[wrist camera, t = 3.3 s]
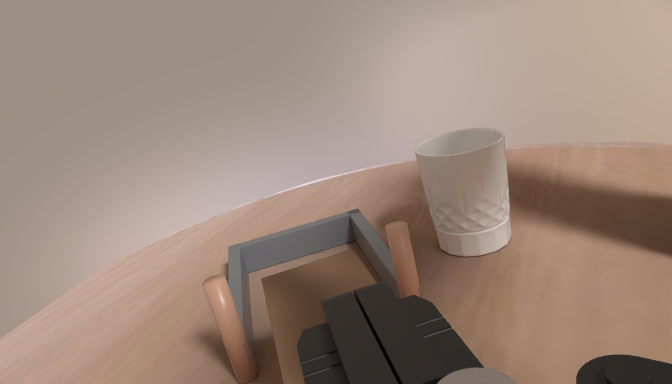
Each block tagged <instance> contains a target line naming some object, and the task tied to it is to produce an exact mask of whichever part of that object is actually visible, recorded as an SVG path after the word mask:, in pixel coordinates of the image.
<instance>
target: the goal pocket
mask: <svg viewBox="0 0 672 384" xmlns="http://www.w3.org/2000/svg"><path fill="white" fill-rule="evenodd" d="M385 230H386V235H387V239H388V244H389V248H390V249H389V248H388V247H387V245H386V244H385V243H384V241H383V240H382V239H381V238H380V236H379V235H378V234H377V233H376V231H375V230H374V229H373V227H372V226H371V225H370V224H369V222H368V221H367V220H366V218H365V217H364V216H363V215H362V213H361V212H360V211H359V209H355V210H351V211H348V212H344V213H341V214H338V215H334V216H331V217H328V218H324V219H321V220H317V221H314V222H311V223H307V224H304V225H301V226H297V227H294V228H290V229H287V230H284V231H280V232H277V233H274V234H270V235H267V236H263V237H260V238H257V239H253V240H250V241H247V242H243V243H240V244H236V245H233V246H230V247H229V253H228V283H227V280H226V277H225V275H215V276H212V277H210V278H208V279H206V280H205V281H204V282H203V284H202V285H203V288H204V291H205V293H206V296H207V299H208V302H209V304H210V307H211V310H212V313H213V316H214V318H215V321H216V324H217V327H218V329H219V332H220V335H221V338H222V341H223V343H224V346H225V349H226V352H227V354H228V357H229V360H230V363H231V365H232V368H233V371H234V374H235V377H236V379H237V381H238V382H239V383H248V382H250V381H252V380H253V379H255V378H256V376H257V375H258V370H257V368H256V365H255V362H254V348H253V334H252V321H251V307H250V293H249V279H248V273H250V272H253V271H256V270H260V269H263V268H266V267H269V266H273V265H276V264H279V263H283V262H286V261H289V260H292V259H296V258H299V257H302V256H306V255H309V254H312V253H316V252H319V251H322V250H325V249H329V248H332V247H335V246H339V245H342V244H345V243H348V242H352V241H355V240H356V241H357V243H358V244H359V246H360V247H361V249H362V251H363V252H364V254H365V255H366V257H367V258H368V260H369V261H370V263H371V265H372V266H373V268H374V269H375V271H376V272H377V274H378V275H379V277H380V279H381V280H382V281H386V283H387V284H388V286H389V287H390V289H391V290H392V291H393V293H394V294H395V296H396V297H397V299H398V300H399V299H402V298H405V297H408V296H411V295H416V296H418V297H421V298H422V293H421V288H420V284H419V279H418V274H417V269H416V264H415V259H414V254H413V250H412V245H411V240H410V235H409V230H408V225H407V222H405V221H394V222H391V223H389V224H387V225H386V226H385Z"/></svg>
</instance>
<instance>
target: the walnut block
mask: <svg viewBox="0 0 672 384" xmlns="http://www.w3.org/2000/svg"><path fill="white" fill-rule="evenodd" d="M375 283H377V282H376V281H375V279H374V278H373V276H372V275H371V274H370V272H369V271H368V269H367V268H366V266H365V265H364V264H363V262H362V261H361V259H360V258H359V257H358V255H357V254H356V252H355V251H354V249H352V250H349V251H346V252H343V253H340V254H336V255H333V256H330V257H327V258H324V259H321V260H318V261H315V262H312V263H309V264H305V265H302V266H299V267H296V268H293V269H290V270H287V271H284V272H281V273H277V274H274V275H271V276H268V277H265V278H262V284H263V289H264V293H265V298H266V303H267V308H268V312H269V317H270V322H271V327H272V331H273V336H274V341H275V346H276V350H277V355H278V360H279V365H280V369H281V374H282V379H283V384H305V382H304V377H303V373H302V369H301V363H300V359H299V355H298V350H297V344H298V341H299V339H300V336H301V334H302V331H303V330H304V329H307V328H310V327H313V326H317V325H320V324H323V323H326V322H325V319H324V315H323V311H322V308H321V303H320V300H323V299H326V298H330V297H333V296H336V295H339V294H343V293H346V292H349V291H352V293H353V290H355V289H358V288H362V287H365V286H368V285H371V284H375ZM353 295H354V293H353Z"/></svg>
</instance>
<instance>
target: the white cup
mask: <svg viewBox="0 0 672 384" xmlns="http://www.w3.org/2000/svg"><path fill="white" fill-rule="evenodd" d="M415 154H416V158H417V163H418V167H419V171H420V175H421V179H422V183H423V188H424V192H425V196H426V198H427V203H428V208H429V211H430V213H431V219H432V221H433V223H434V226H435V228H436V233H437V237H438V241H439V245H440V248H441V249H442V250H444V251H445V252H447V253H449V254H451V255H457V256H463V257H467V256H481V255H485V254H488V253H492V252H495V251H497V250H499V249H501V248H502V247H504V246H505V245H507V244H508V242H509V240H510V238H511V227H510V216H509V209H510V201H509V195H508V194H509V185H508V174H507V162H506V150H505V138H504V133H503V132H501V131H500V130H496V129H490V128H474V129H464V130H457V131H452V132H448V133H444V134H440V135H437V136H434V137H431V138H429V139H427V140H425V141H423V142H421V143H419V144H418V145H417V146H416V147H415Z"/></svg>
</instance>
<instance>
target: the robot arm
mask: <svg viewBox="0 0 672 384" xmlns="http://www.w3.org/2000/svg"><path fill="white" fill-rule="evenodd" d="M353 293H354V295H353ZM353 293H352V291H349V292H346V293H343V294H339V295H336V296H333V297H330V298H326V299H323V300H320V303H321V308H322V311H323V315H324V319H325V322H326V323H323V324H320V325H317V326H313V327H310V328H307V329H304V330H303V331H302V334H301V336H300V339H299V341H298V344H297V350H298V355H299V359H300V363H301V369H302V373H303V377H304V382H305V384H516V383H515V382H514V381H513V380H512V379H511V378H510V377H508V376H507V375H505V374H503V373H501V372H498V371H495V370H492V369H487V368H484V367H483V366H482V364H481V363H480V362H479V361H478V359H477V358H476V357H475V356H474V354H473V353H472V352H471V351H470V349H469V348H468V347H467V346H466V344H465V343H464V342H463V341H462V339H461V338H460V337H459V336H458V334H457V333H456V332H455V331H454V330H453V329H452V328H451V326H450V325H449V323H448V322H447V321H446V320H445V318H443V316H442V315H441V313H440V312H439V311H438V310H437V308H436V307H435V306H434V305H433V303H431V302H429V301H427V300H425V299H423V298H421V297H418V296H416V295H411V296H408V297H405V298H402V299H399V300H398V299H397V297H396V296H395V294H394V293H393V291H392V290H391V289H390V287H389V286H388V284H387V283H386V281H381V282H378V283H375V284H371V285H368V286H365V287H362V288H358V289H355V290H353ZM576 384H672V364H669V363H665V362H660V361H656V360H651V359H647V358H642V357H637V356H631V355H607V356H602V357H598V358H595V359H593V360H590V361H589V362H587V363H586V364H584V365H583V366H582V367H581V368H580V370H579V371H578V374H577V377H576Z"/></svg>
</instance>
